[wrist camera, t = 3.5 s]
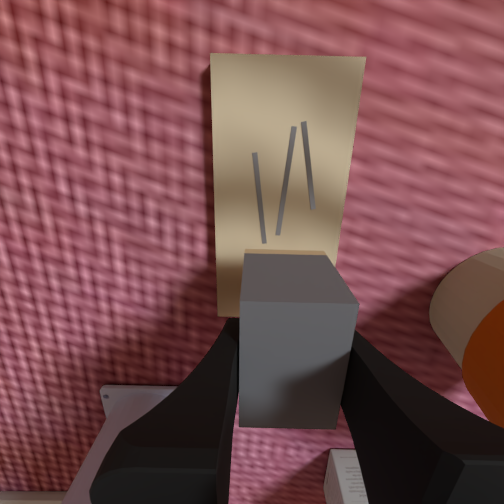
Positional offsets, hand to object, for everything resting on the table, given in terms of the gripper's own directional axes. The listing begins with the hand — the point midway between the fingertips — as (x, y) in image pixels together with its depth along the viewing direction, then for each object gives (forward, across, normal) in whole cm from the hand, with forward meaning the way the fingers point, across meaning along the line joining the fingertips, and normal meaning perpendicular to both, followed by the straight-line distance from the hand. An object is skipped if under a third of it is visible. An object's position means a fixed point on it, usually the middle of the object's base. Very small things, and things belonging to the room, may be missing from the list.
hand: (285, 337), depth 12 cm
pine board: (+8, 0, -4) cm, 9 cm away
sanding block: (+3, 0, 0) cm, 3 cm away
